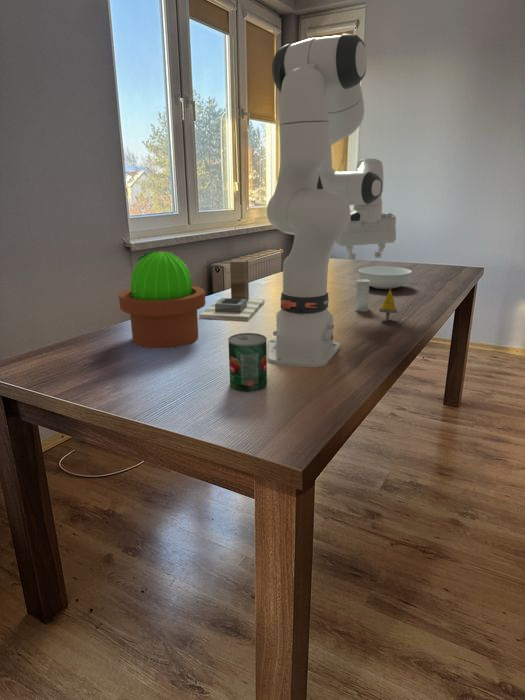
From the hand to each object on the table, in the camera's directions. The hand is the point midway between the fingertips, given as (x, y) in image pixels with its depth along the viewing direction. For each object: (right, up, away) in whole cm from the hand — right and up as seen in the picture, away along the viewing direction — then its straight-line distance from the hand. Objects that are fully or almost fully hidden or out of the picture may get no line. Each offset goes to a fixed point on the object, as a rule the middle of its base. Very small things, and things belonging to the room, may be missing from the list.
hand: (365, 258), depth 156 cm
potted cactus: (-60, -27, -24) cm, 70 cm away
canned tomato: (-36, -38, -54) cm, 76 cm away
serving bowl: (+16, -4, +40) cm, 43 cm away
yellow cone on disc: (+5, -21, -8) cm, 23 cm away
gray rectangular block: (0, -16, +6) cm, 17 cm away
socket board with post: (-43, -17, +6) cm, 46 cm away
